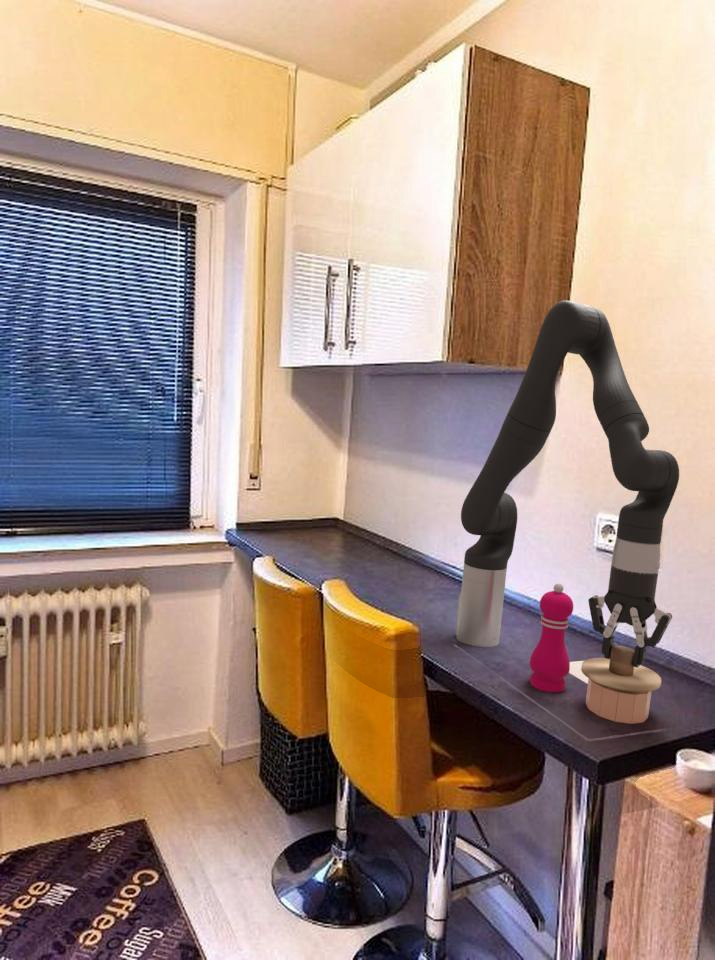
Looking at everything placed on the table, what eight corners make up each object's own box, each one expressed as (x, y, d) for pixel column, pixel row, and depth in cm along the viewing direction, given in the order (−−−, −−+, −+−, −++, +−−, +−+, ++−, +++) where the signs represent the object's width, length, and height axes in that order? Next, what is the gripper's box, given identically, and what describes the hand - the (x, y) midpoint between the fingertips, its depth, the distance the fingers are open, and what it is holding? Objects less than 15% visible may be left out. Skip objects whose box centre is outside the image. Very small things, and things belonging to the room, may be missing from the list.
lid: (565, 664, 123) (568, 639, 122) (622, 659, 128) (625, 634, 127) (617, 695, 111) (621, 667, 110) (678, 688, 116) (681, 661, 115)
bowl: (574, 702, 123) (577, 672, 122) (617, 697, 126) (621, 668, 126) (614, 728, 113) (618, 696, 113) (659, 722, 117) (664, 691, 117)
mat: (553, 665, 140) (553, 663, 140) (603, 661, 145) (604, 658, 145) (597, 692, 128) (598, 690, 128) (650, 686, 133) (651, 684, 133)
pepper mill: (573, 688, 129) (585, 585, 126) (556, 699, 123) (569, 591, 121) (538, 676, 133) (549, 576, 131) (520, 685, 128) (531, 582, 126)
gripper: (585, 560, 118) (574, 655, 120) (673, 578, 110) (659, 680, 112) (600, 554, 124) (589, 645, 126) (684, 571, 115) (671, 668, 117)
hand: (622, 661), depth 119 cm, fingers open, 4 cm apart
